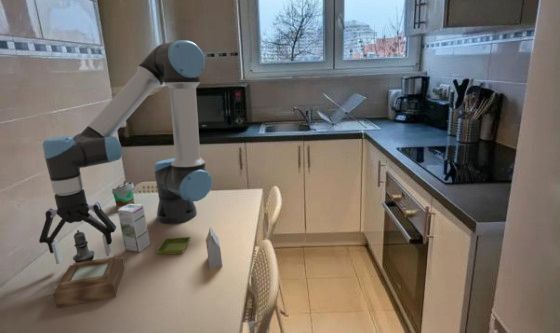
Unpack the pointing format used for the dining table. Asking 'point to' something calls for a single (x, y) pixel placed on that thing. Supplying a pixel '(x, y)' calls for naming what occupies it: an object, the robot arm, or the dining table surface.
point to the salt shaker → (82, 248)
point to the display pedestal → (89, 281)
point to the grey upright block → (213, 250)
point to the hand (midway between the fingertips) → (84, 257)
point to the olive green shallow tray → (173, 245)
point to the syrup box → (133, 227)
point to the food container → (124, 194)
